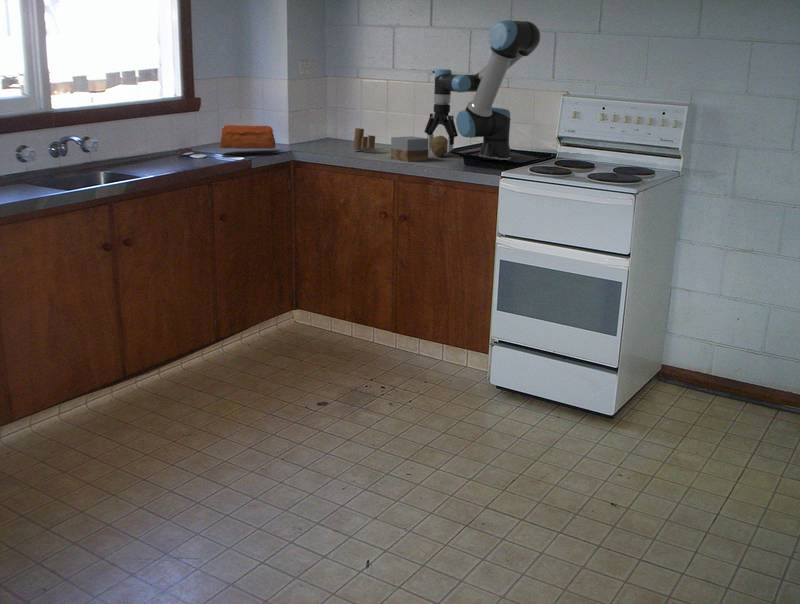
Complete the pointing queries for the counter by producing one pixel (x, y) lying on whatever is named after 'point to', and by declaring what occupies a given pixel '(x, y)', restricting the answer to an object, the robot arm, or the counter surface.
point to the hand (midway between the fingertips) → (440, 150)
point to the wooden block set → (363, 140)
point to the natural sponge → (439, 145)
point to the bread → (247, 137)
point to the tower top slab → (409, 143)
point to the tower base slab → (409, 155)
